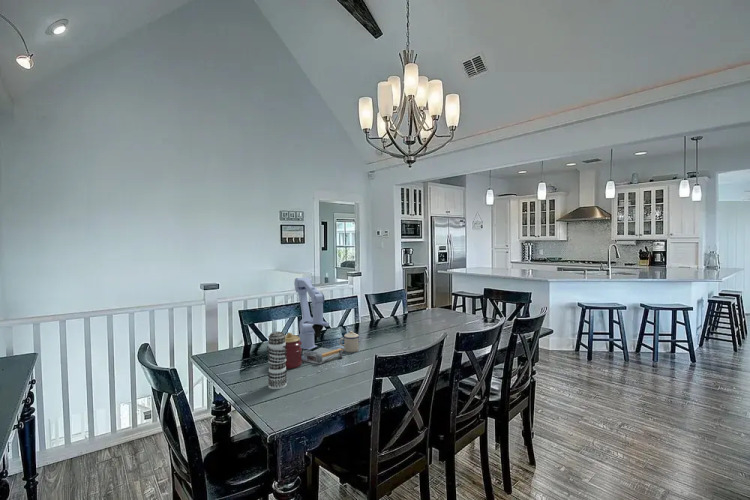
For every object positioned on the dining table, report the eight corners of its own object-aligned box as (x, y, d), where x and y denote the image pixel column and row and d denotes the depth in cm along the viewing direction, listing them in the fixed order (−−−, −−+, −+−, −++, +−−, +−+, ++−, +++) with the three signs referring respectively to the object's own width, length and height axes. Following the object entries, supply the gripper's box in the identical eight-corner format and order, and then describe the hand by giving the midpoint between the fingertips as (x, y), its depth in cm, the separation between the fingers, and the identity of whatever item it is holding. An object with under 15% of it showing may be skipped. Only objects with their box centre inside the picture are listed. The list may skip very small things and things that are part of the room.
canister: (296, 369, 200) (295, 336, 199) (273, 368, 202) (272, 335, 201) (305, 361, 212) (305, 330, 211) (284, 360, 215) (283, 329, 214)
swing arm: (318, 362, 206) (318, 356, 206) (315, 361, 209) (315, 354, 208) (346, 354, 221) (346, 347, 220) (342, 352, 223) (342, 346, 223)
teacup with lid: (359, 348, 236) (359, 329, 236) (357, 352, 227) (357, 333, 227) (340, 347, 238) (340, 329, 237) (337, 352, 229) (337, 332, 228)
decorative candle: (279, 380, 186) (278, 329, 185) (291, 384, 180) (290, 332, 179) (263, 385, 179) (262, 333, 178) (275, 391, 173) (274, 336, 172)
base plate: (297, 359, 215) (296, 351, 215) (321, 349, 234) (320, 341, 234) (327, 366, 205) (327, 357, 205) (349, 354, 224) (349, 346, 224)
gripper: (303, 314, 223) (304, 337, 224) (323, 316, 216) (324, 340, 216) (311, 311, 229) (311, 334, 230) (331, 314, 222) (331, 337, 223)
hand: (318, 337), depth 224 cm, fingers closed
